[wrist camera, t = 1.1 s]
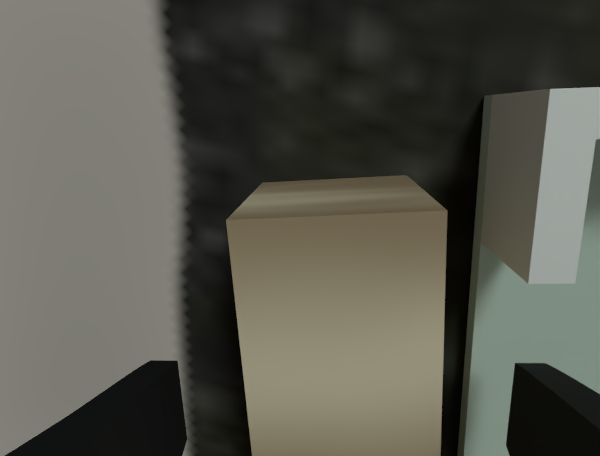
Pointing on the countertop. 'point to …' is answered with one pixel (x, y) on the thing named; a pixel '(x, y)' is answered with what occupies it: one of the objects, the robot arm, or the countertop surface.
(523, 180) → the endcap rail
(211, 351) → the countertop surface
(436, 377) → the tan rectangular block
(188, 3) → the countertop surface
